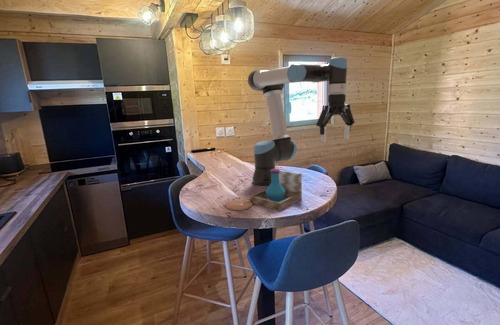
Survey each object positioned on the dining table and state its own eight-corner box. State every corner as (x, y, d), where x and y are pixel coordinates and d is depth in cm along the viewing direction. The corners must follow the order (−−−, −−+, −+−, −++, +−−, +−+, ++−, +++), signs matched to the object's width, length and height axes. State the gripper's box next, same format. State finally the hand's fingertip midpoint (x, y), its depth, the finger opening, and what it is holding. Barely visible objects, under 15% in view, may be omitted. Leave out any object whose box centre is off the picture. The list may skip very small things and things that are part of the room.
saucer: (220, 206, 122) (220, 204, 122) (238, 198, 131) (238, 197, 131) (239, 212, 115) (239, 210, 114) (257, 204, 123) (257, 202, 123)
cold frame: (250, 202, 126) (249, 177, 124) (273, 191, 140) (273, 169, 137) (280, 210, 115) (279, 183, 113) (302, 197, 129) (302, 173, 126)
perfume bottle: (264, 197, 131) (263, 167, 128) (283, 196, 132) (282, 166, 128) (267, 204, 122) (266, 172, 119) (287, 203, 123) (286, 171, 119)
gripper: (319, 94, 114) (318, 143, 119) (364, 92, 124) (361, 138, 129) (309, 94, 121) (308, 141, 126) (352, 93, 130) (350, 137, 135)
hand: (335, 140), depth 127 cm, fingers open, 13 cm apart
